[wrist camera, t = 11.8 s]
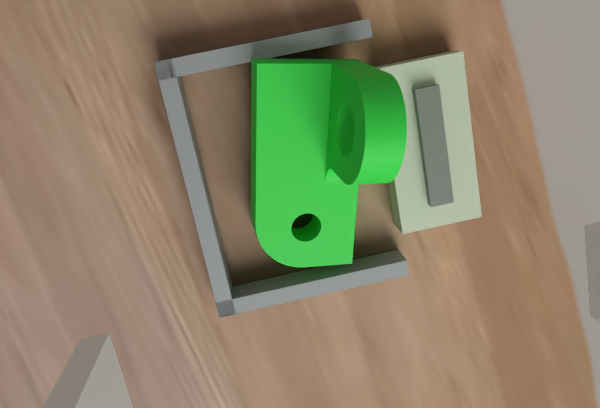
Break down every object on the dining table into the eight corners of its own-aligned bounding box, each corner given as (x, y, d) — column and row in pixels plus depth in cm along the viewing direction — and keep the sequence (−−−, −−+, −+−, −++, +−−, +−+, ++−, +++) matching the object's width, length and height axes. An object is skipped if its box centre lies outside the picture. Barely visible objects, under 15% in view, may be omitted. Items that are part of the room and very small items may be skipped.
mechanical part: (251, 58, 31) (279, 83, 24) (355, 59, 33) (412, 83, 25) (250, 255, 36) (273, 327, 28) (342, 249, 37) (387, 316, 30)
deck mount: (220, 303, 37) (219, 321, 35) (158, 61, 33) (151, 62, 30) (473, 247, 38) (490, 261, 35) (445, 3, 34) (461, -1, 31)
